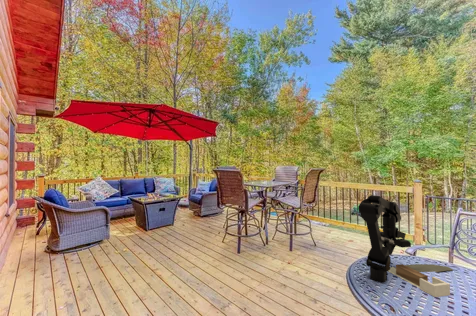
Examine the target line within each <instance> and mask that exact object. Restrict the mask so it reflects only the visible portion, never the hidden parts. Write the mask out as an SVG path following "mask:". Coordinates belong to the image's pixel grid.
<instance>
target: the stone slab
mask: <svg viewBox="0 0 476 316" xmlns="http://www.w3.org/2000/svg"><path fill="white" fill-rule="evenodd" d="M404 265H405V266H407V267H410V268H412V269H414V270H416V271H418V272H420V273H434V272H435V273H440V272H447V271H451V272H453V271H454V269H453V268H452V267H449V266H445V265H440V264H438V265H437V264H433V263H432V264H425V263H424V264H423V263H421V264H419V263H417V264H415V263H414V264H404Z"/></svg>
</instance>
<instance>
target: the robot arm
mask: <svg viewBox="0 0 476 316" xmlns="http://www.w3.org/2000/svg"><path fill="white" fill-rule="evenodd" d="M357 210H358V212H359V215H360V217H361V218H362V220H363V221H365V223H366V227H367V228H366V229H367V232H368V236H369V237H368V238H369V242H370V245H371V246H370V249H369V252H368V254H367V258H366V261H365V264H366V266H367V267H369V276H370V277H369V278H370V279H371V280H372V281H374V282H377V283H386V281H387V280H388V271H389V270H390V267H391V261H392V259H391V256H392V255H393V252H394V249H396V247H399V248H410V247H411V248H412V244H411V243H412V242H411V241H410V240H407V239H405V238H406V236H407V235H406V232H403V231H400V230H399V228H398V227H397V226H396V224H397V223H399V222H400V221H402V216H401V211H400V209H399V206H398V204H397V202H395V201H388V200H386V199H385V198H384V197H382V196H381V195H374V194H370V195H369V196H368V197H367V198H365V199H363V200H361V202H360V203H359V204H358V208H357ZM380 217H382V225H381V226H380V225H379V221H378V220H379V218H380ZM380 228H381V229H382V230H380Z"/></svg>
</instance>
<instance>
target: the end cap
mask: <svg viewBox="0 0 476 316" xmlns="http://www.w3.org/2000/svg"><path fill="white" fill-rule="evenodd" d="M419 280H420V288H419V290H421V291H423V292H425V293H427V294H428V295H430V296H432V297H434V298H439V297H440V298H441V297H446V295H447V296H451V289H450V286H451V285H450V283H448V282H447V281H444V280H442V279H440V278H438V277H435V276H432V277H431V282H430V281H429V280H428V281H426V280H424V279H422V278H420V279H419Z"/></svg>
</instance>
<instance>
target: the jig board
mask: <svg viewBox="0 0 476 316" xmlns="http://www.w3.org/2000/svg"><path fill="white" fill-rule="evenodd" d="M388 272H389V273H390V274H393V275H394V276H396V277H398V278H400V279H402V280H403V281H405V282H407V283H408V284H411V285H413V286H414V287H417V288H418V289H420V286H418V285H416V284H414V283H412V282H410V281H408V280H406V279H405V278H403V277H401V276H399V275H397V274H396V267H394V266H392V267H391V266H390V270H389V271H388ZM388 272H387V273H388ZM446 296H448V295H446ZM446 296H445V297H446Z"/></svg>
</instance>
